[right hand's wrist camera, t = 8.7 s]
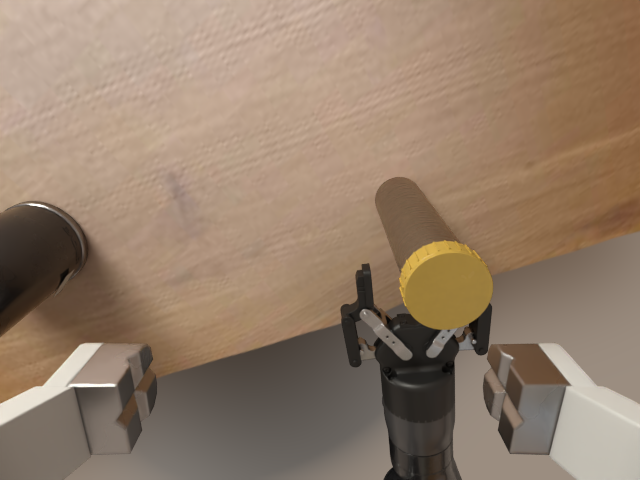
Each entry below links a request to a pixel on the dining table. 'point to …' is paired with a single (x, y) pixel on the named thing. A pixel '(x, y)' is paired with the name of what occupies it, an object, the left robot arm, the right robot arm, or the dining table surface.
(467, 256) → the lid
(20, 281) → the left robot arm
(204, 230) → the dining table surface
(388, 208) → the brown cylinder
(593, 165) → the dining table surface
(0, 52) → the dining table surface
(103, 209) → the dining table surface
